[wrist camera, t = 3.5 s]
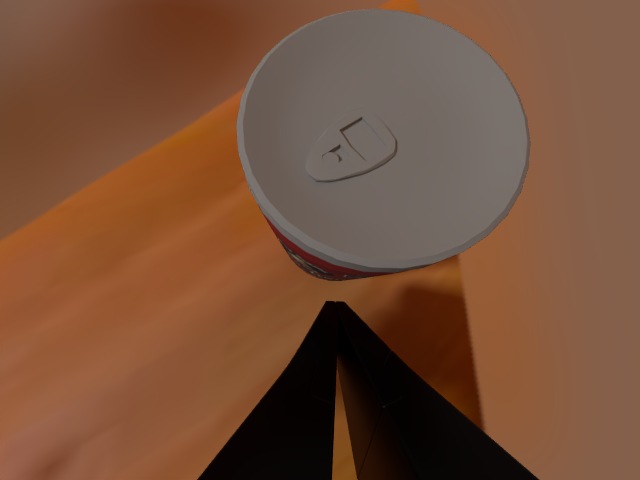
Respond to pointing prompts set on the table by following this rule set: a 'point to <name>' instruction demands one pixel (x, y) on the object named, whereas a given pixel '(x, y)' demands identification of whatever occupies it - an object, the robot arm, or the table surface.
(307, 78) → the canned food
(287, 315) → the table surface
